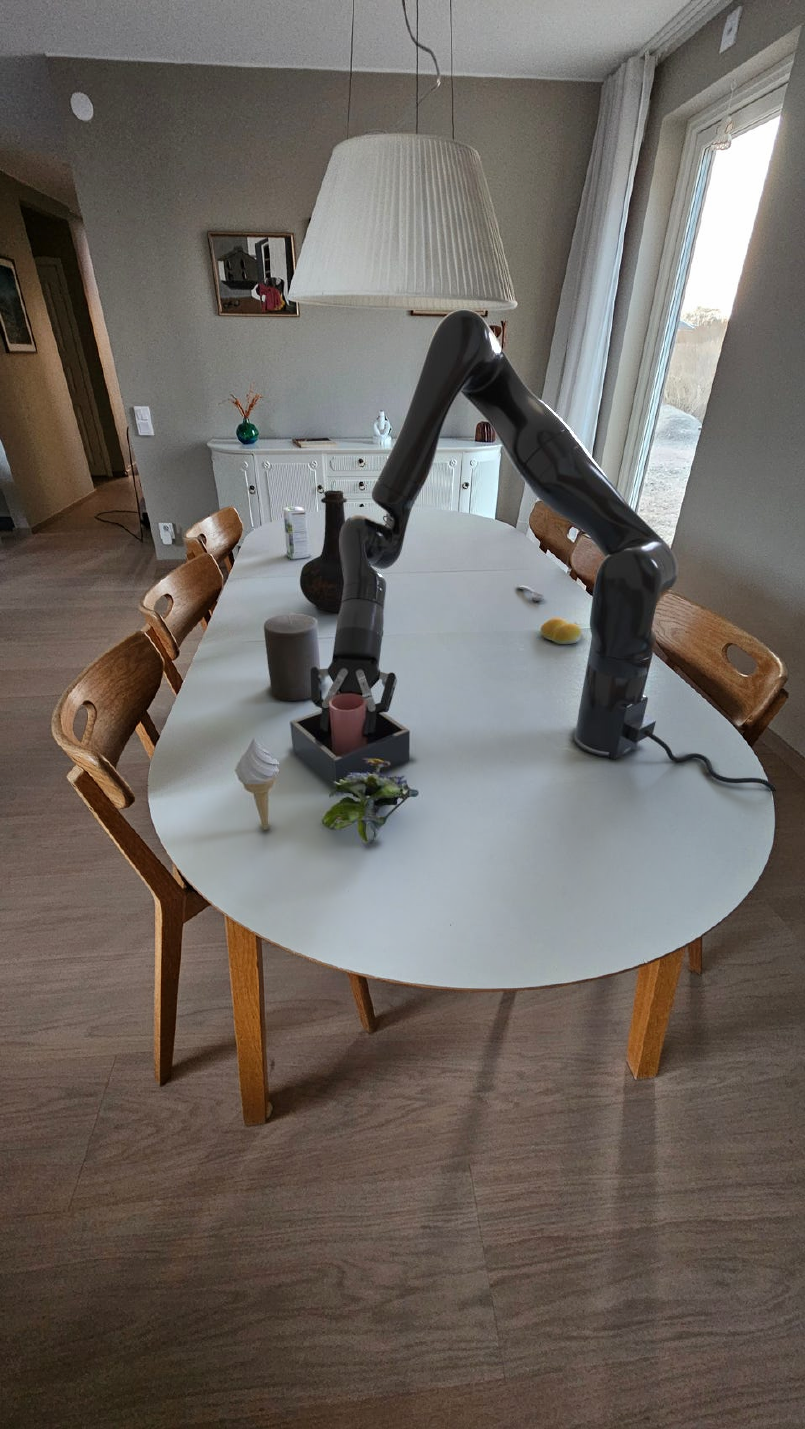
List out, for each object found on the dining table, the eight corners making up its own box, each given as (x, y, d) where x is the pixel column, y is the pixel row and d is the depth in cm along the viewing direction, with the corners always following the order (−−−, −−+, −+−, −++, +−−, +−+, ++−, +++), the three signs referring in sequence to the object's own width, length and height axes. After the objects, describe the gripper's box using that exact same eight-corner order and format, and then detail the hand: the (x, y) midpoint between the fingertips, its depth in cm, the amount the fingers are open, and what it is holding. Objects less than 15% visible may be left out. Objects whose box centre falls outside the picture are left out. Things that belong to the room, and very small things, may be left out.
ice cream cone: (268, 810, 88) (256, 720, 81) (295, 827, 85) (285, 735, 78) (236, 831, 85) (220, 738, 77) (263, 849, 82) (249, 755, 74)
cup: (374, 753, 100) (373, 703, 95) (344, 765, 97) (341, 715, 92) (354, 737, 104) (352, 689, 99) (325, 749, 101) (321, 699, 96)
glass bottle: (295, 598, 162) (285, 486, 148) (360, 590, 168) (356, 481, 153) (311, 623, 148) (302, 501, 133) (382, 613, 153) (380, 495, 139)
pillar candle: (273, 704, 114) (264, 629, 107) (268, 681, 122) (260, 609, 115) (326, 698, 117) (320, 623, 109) (318, 675, 125) (312, 604, 117)
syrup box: (286, 554, 196) (281, 507, 188) (304, 552, 198) (300, 505, 190) (291, 559, 191) (287, 511, 184) (309, 557, 193) (306, 509, 186)
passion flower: (378, 835, 92) (424, 773, 89) (381, 879, 82) (433, 810, 79) (312, 799, 89) (358, 734, 86) (307, 839, 79) (358, 767, 76)
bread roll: (566, 648, 136) (569, 631, 134) (534, 636, 142) (536, 619, 140) (589, 638, 141) (591, 622, 139) (556, 627, 146) (559, 611, 144)
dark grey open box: (409, 760, 99) (409, 730, 96) (337, 791, 92) (335, 760, 89) (361, 724, 109) (360, 696, 106) (292, 750, 102) (289, 721, 99)
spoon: (535, 603, 159) (536, 595, 159) (515, 591, 170) (515, 584, 169) (546, 602, 160) (546, 594, 159) (525, 590, 170) (525, 583, 170)
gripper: (310, 622, 98) (295, 726, 94) (401, 627, 96) (389, 733, 92) (320, 639, 105) (307, 736, 101) (405, 644, 103) (394, 744, 99)
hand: (346, 734), depth 96 cm, fingers closed on cup, 5 cm apart
